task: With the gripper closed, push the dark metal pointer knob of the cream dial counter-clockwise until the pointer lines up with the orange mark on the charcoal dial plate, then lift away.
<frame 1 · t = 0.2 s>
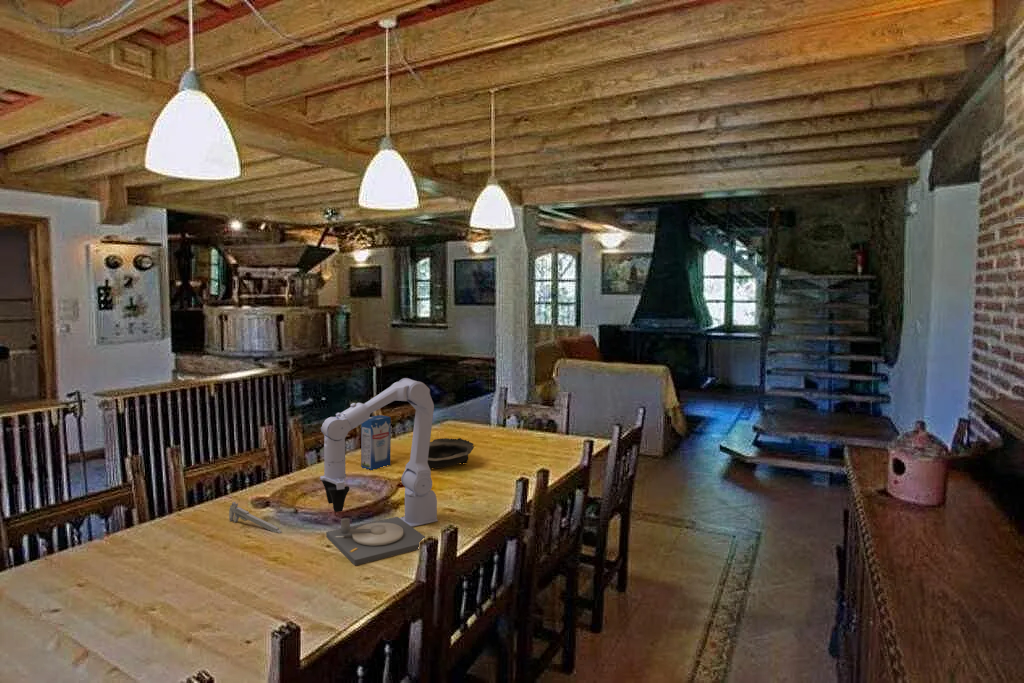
hand: (335, 507, 170), 9 cm above the table, fingers open, 7 cm apart
stone bowl: (443, 466, 246), on the table
dial: (372, 527, 169), point 4 cm above the table, hinge at 0.0°
caliper: (255, 528, 178), on the table
milk carton: (375, 467, 243), on the table
dial plate: (378, 541, 169), on the table
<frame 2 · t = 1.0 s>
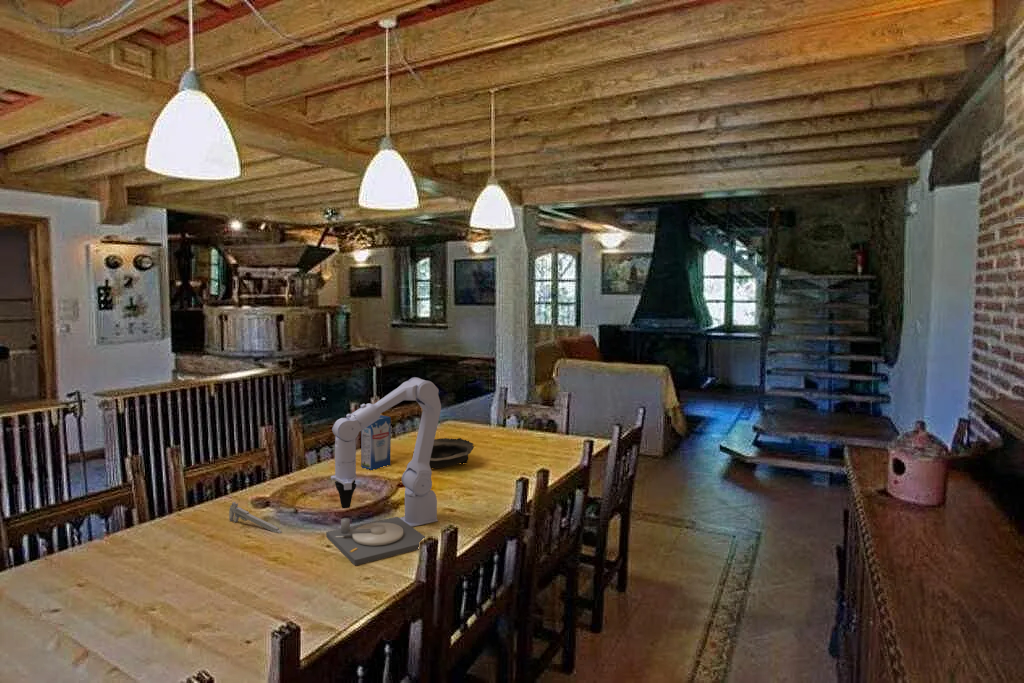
hand: (345, 506, 173), 8 cm above the table, fingers closed
nothing on the table moved.
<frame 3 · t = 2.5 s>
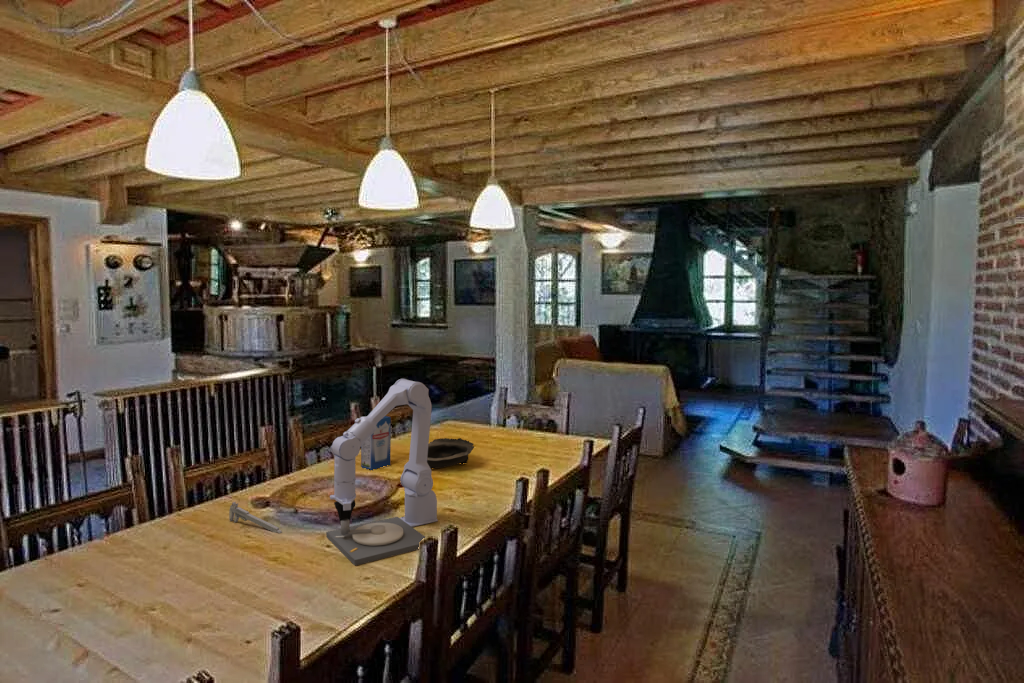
hand: (344, 526, 169), 4 cm above the table, fingers closed
dial: (372, 527, 169), point 4 cm above the table, hinge at 4.2°, touching gripper
everything else where it was.
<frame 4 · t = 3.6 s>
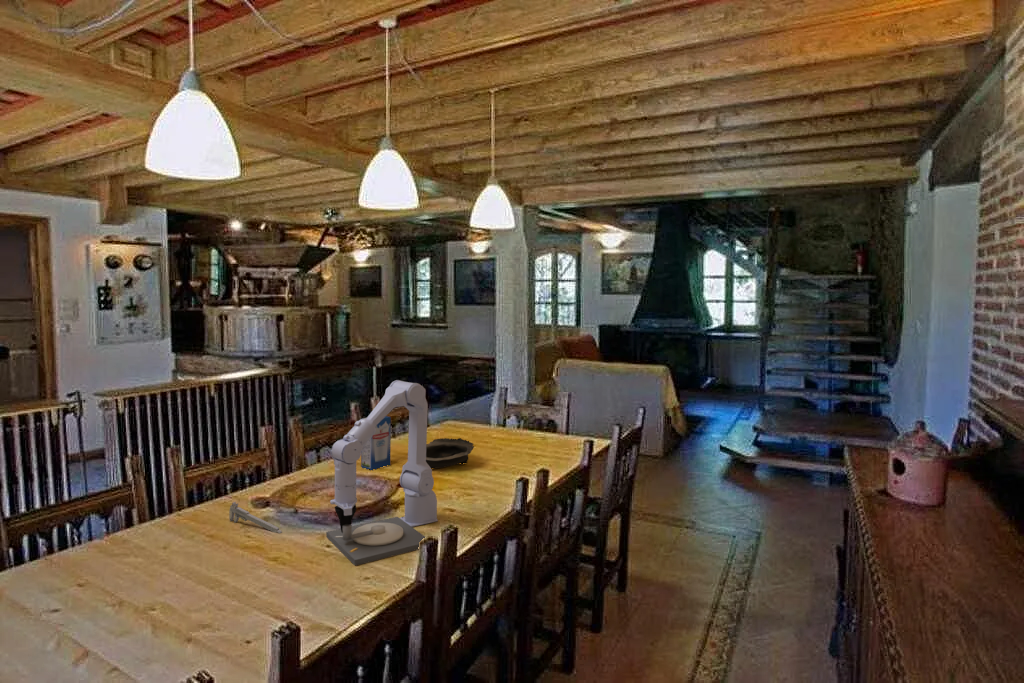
hand: (345, 532, 166), 4 cm above the table, fingers closed
dial: (372, 528, 168), point 4 cm above the table, hinge at 30.8°, touching gripper
everything else where it was.
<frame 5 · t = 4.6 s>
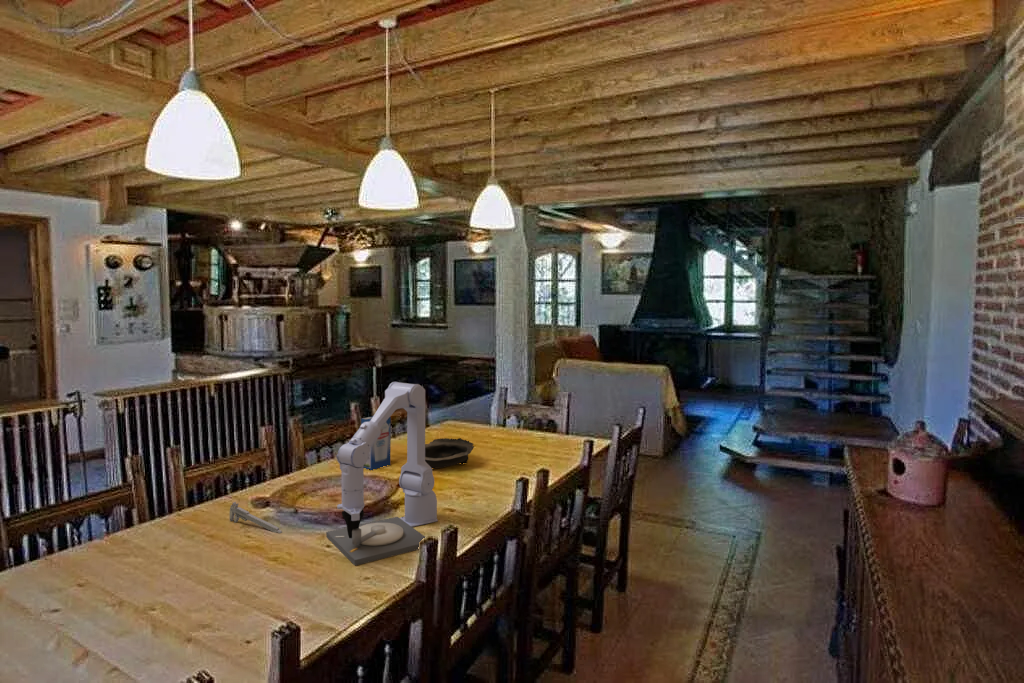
hand: (352, 537, 162), 4 cm above the table, fingers closed
dial: (374, 529, 168), point 4 cm above the table, hinge at 58.6°, touching gripper
everything else where it was.
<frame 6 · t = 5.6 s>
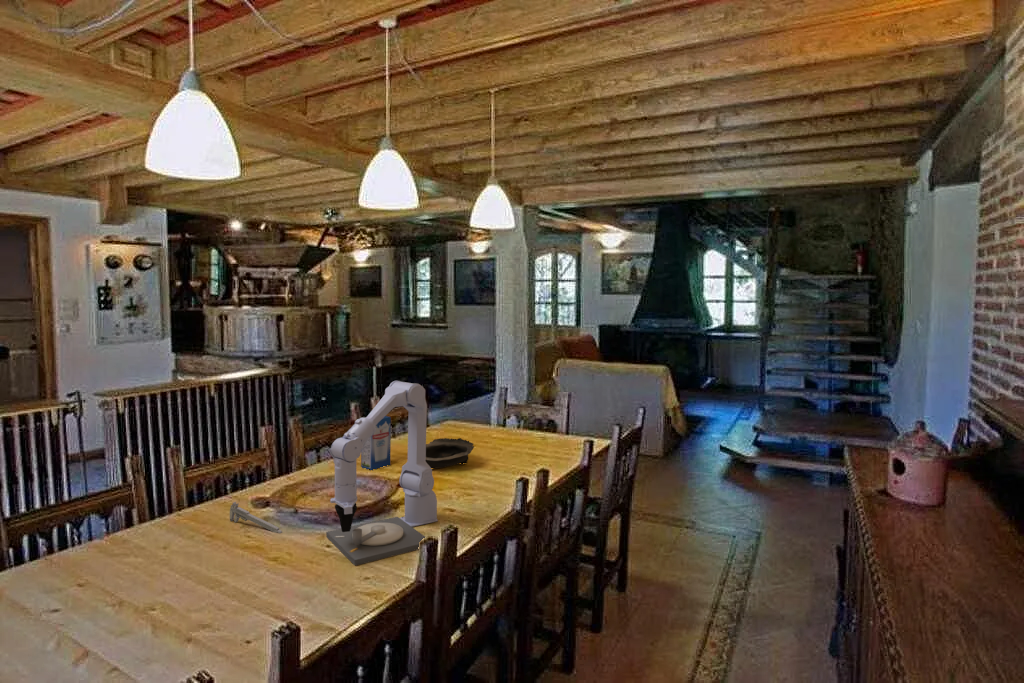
hand: (345, 530, 164), 5 cm above the table, fingers closed
dial: (374, 529, 168), point 4 cm above the table, hinge at 59.8°
everything else where it was.
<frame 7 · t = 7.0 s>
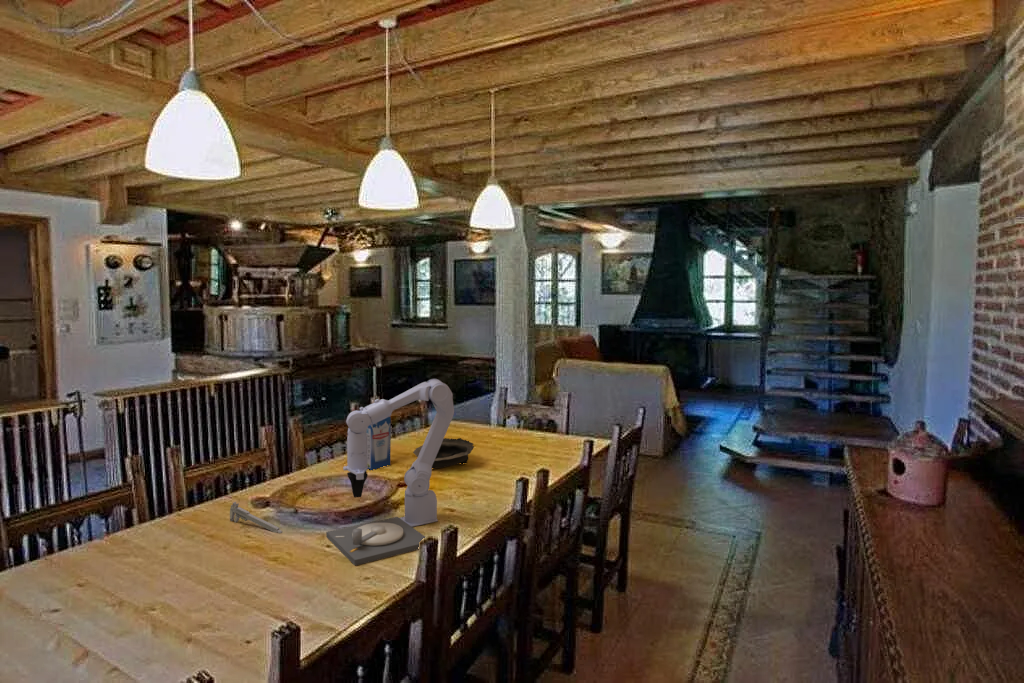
hand: (357, 496, 179), 9 cm above the table, fingers closed
nothing on the table moved.
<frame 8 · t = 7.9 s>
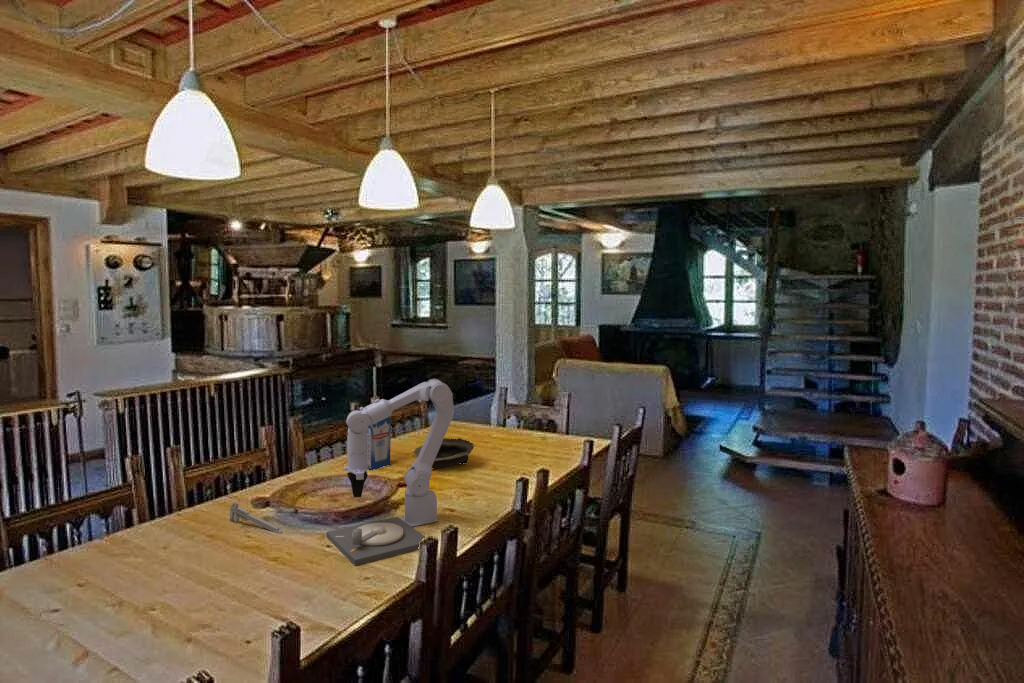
hand: (357, 496, 179), 9 cm above the table, fingers closed
nothing on the table moved.
at the end: dial at +60° (first picture: +0°) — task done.
